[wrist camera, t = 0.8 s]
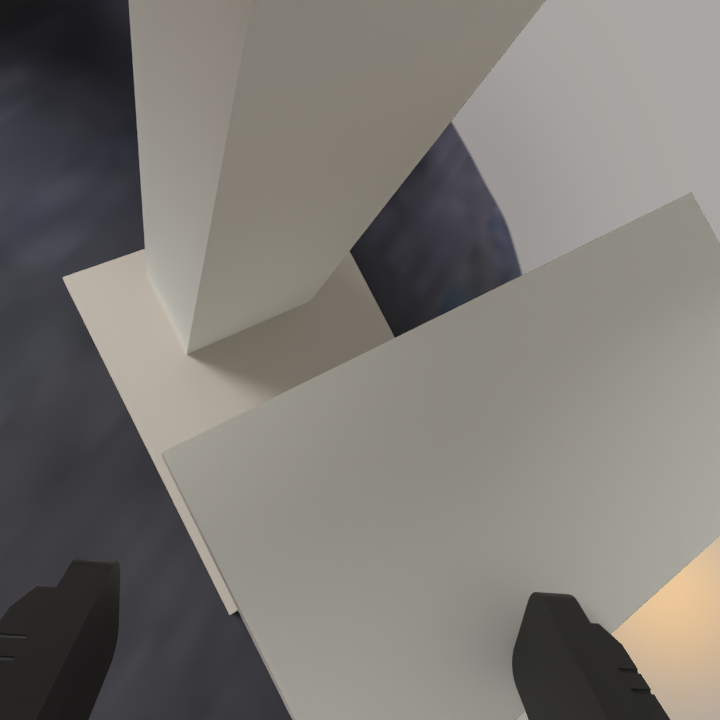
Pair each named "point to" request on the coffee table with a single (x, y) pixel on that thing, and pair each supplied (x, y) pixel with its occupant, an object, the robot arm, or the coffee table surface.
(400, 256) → the coffee table surface
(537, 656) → the robot arm
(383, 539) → the two-step rack
